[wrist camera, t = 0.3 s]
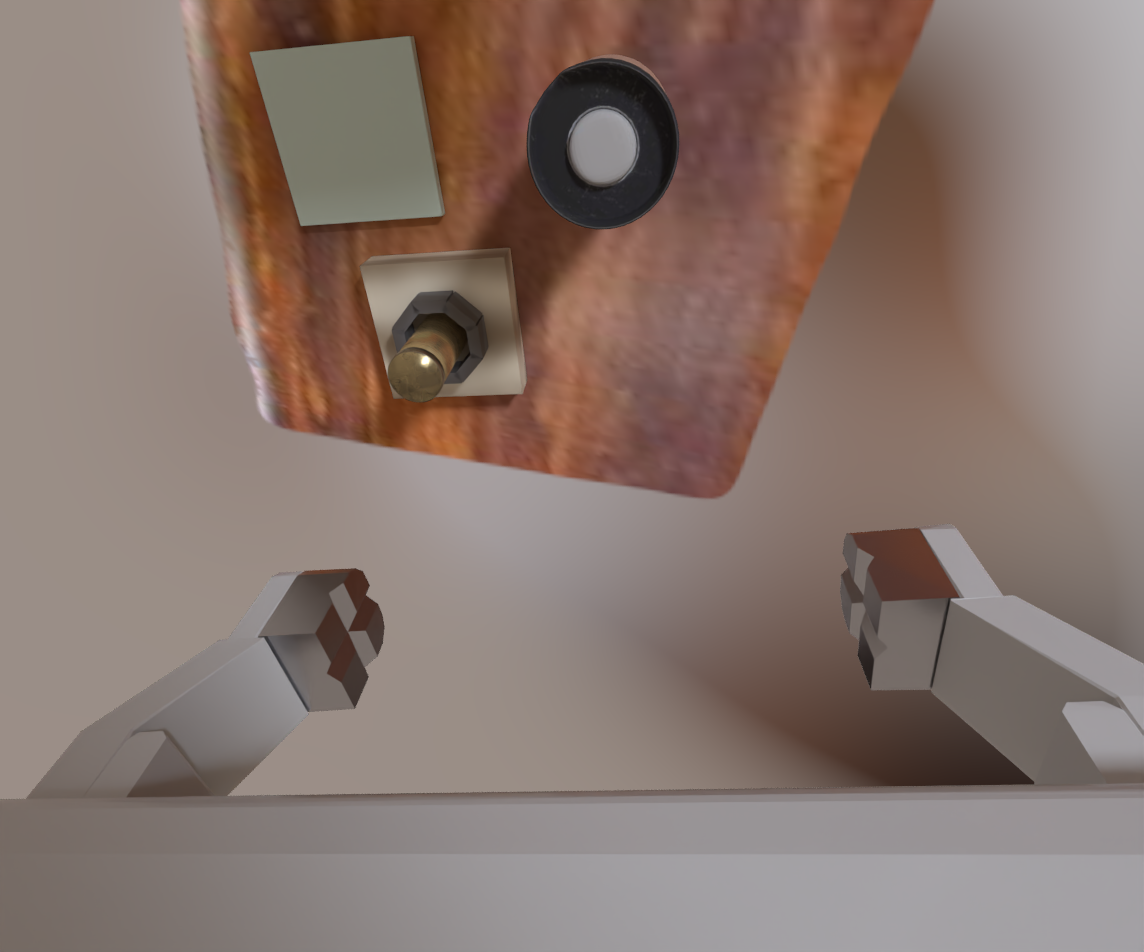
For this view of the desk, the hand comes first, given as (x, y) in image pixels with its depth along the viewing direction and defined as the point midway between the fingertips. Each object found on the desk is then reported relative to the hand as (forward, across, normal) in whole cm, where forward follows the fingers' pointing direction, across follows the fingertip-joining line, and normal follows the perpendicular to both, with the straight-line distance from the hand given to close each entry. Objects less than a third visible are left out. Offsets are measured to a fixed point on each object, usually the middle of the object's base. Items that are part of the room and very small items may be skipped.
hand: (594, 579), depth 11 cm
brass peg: (+44, +17, +10) cm, 48 cm away
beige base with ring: (+47, +17, +10) cm, 51 cm away
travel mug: (+47, 0, -4) cm, 47 cm away
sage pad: (+46, +20, -5) cm, 51 cm away
